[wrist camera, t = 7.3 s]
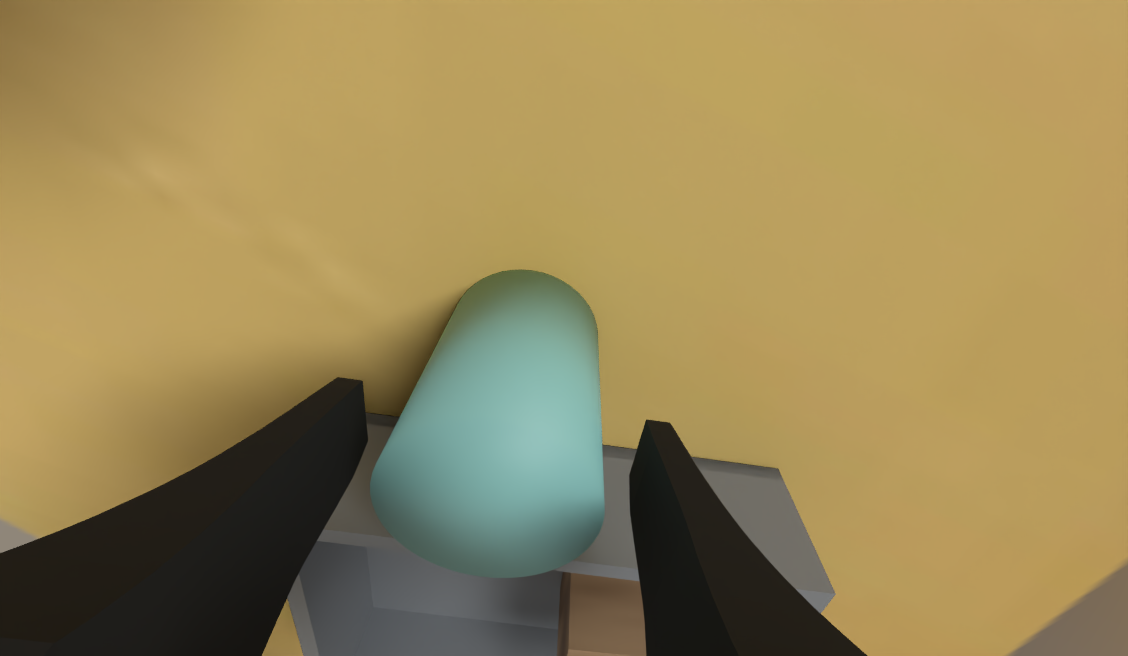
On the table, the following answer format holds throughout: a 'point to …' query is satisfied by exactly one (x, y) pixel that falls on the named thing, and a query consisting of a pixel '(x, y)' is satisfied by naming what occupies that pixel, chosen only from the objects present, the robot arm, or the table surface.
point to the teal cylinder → (501, 435)
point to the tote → (504, 605)
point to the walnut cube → (600, 617)
